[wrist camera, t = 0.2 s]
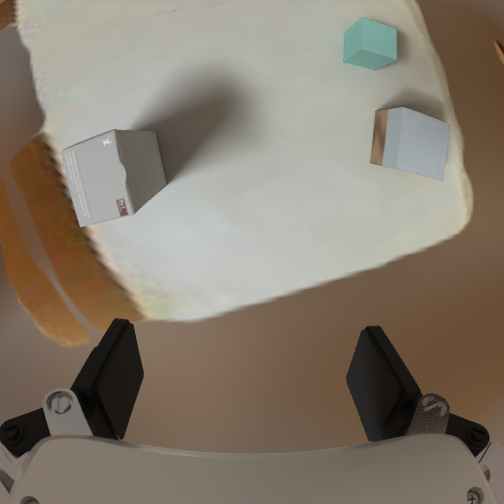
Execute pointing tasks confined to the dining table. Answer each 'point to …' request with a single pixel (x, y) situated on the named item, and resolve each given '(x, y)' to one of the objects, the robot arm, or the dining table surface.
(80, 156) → the skincare box
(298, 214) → the dining table surface
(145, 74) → the dining table surface
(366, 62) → the block
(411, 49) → the dining table surface
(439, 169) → the tower top
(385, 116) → the tower base
